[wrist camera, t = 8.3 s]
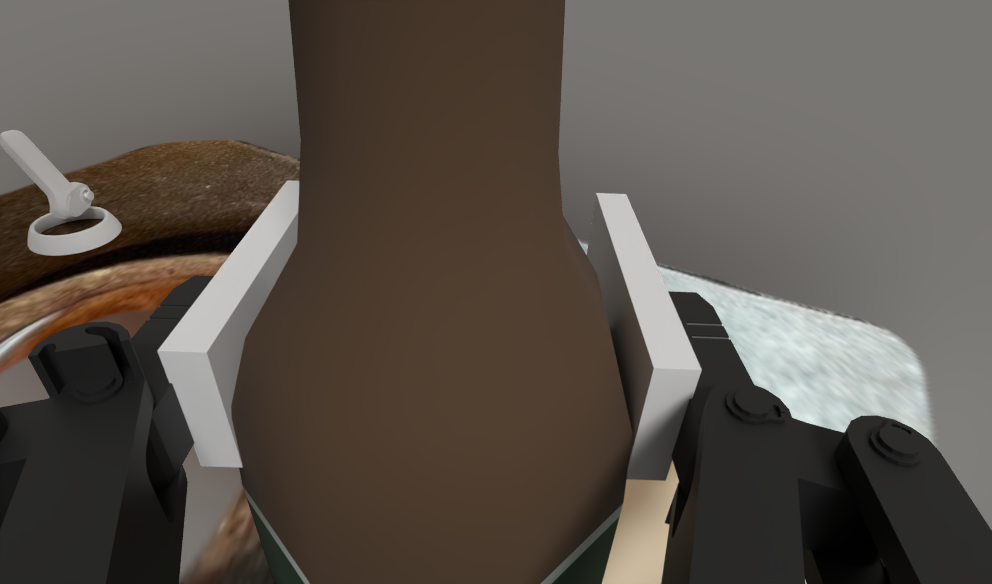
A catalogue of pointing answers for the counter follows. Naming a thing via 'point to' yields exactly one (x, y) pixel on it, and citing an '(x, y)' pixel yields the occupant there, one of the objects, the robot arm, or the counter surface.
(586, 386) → the beer bottle
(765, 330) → the counter surface
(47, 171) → the white ring with handle
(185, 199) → the counter surface
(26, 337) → the counter surface
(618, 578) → the wooden tray
